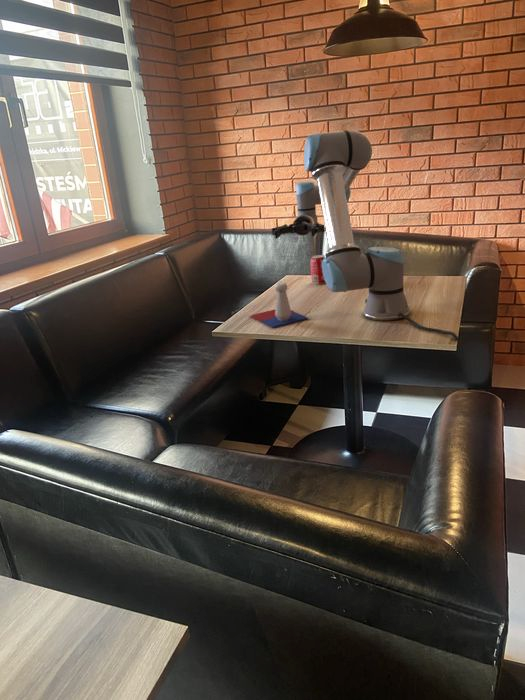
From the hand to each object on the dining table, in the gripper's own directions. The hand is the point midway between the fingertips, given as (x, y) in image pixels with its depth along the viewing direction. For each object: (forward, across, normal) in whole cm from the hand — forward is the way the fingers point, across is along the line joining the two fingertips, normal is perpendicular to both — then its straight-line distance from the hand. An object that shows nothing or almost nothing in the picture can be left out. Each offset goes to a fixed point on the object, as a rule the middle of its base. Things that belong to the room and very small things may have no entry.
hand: (294, 233), depth 196 cm
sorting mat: (+13, +6, -28) cm, 31 cm away
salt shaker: (+17, +3, -28) cm, 32 cm away
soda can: (-36, -3, -28) cm, 46 cm away
